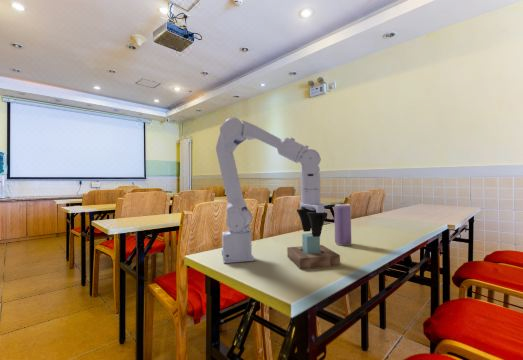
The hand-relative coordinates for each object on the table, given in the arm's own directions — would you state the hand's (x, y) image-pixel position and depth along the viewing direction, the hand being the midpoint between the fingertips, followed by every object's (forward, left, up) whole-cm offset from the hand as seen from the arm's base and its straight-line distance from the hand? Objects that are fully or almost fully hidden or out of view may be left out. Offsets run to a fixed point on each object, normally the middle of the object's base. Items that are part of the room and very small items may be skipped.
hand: (311, 233), depth 78 cm
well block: (0, 0, -8) cm, 8 cm away
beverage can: (+19, +16, -8) cm, 26 cm away
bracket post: (0, 0, -8) cm, 8 cm away
